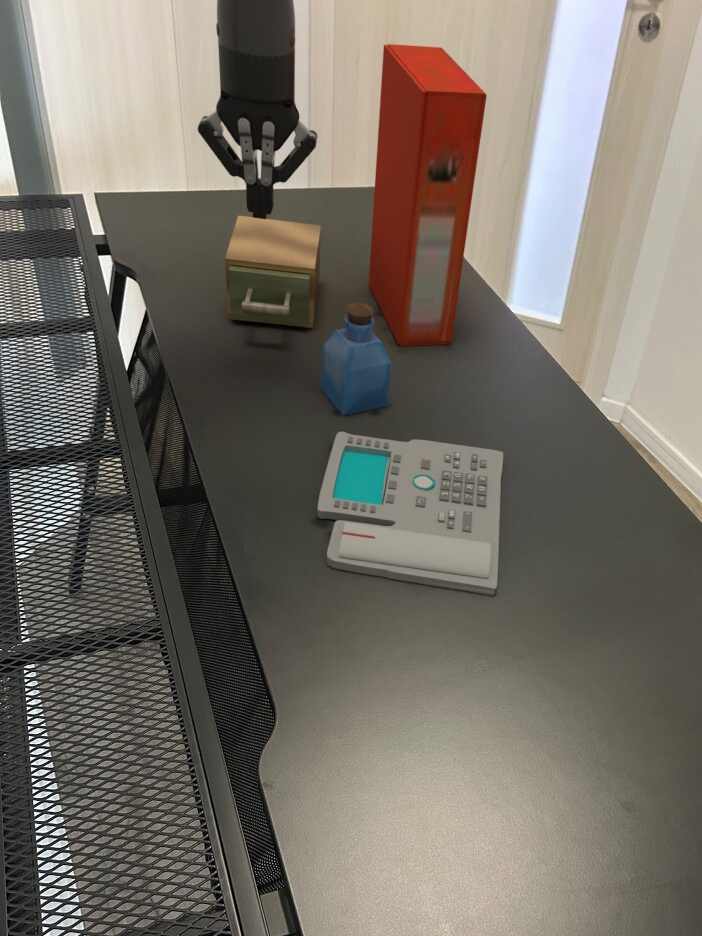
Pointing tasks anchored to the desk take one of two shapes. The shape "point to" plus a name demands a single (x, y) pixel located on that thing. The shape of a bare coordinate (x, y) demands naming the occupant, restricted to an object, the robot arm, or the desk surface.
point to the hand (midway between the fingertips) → (260, 215)
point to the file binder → (423, 190)
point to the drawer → (269, 295)
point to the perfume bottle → (356, 364)
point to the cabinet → (276, 252)
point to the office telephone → (414, 510)
